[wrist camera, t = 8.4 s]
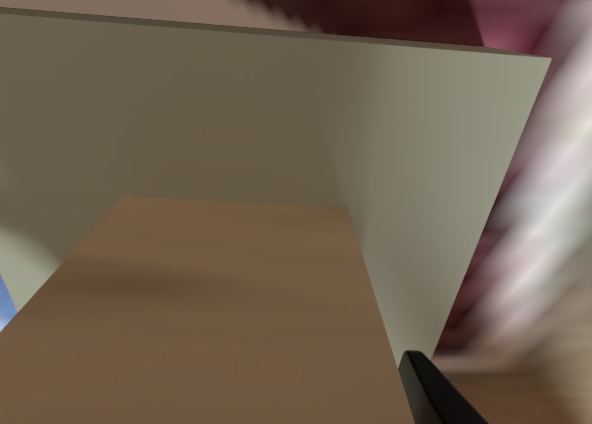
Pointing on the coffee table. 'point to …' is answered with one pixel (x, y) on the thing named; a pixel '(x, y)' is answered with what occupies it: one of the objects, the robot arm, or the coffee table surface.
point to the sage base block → (259, 140)
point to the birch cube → (205, 323)
